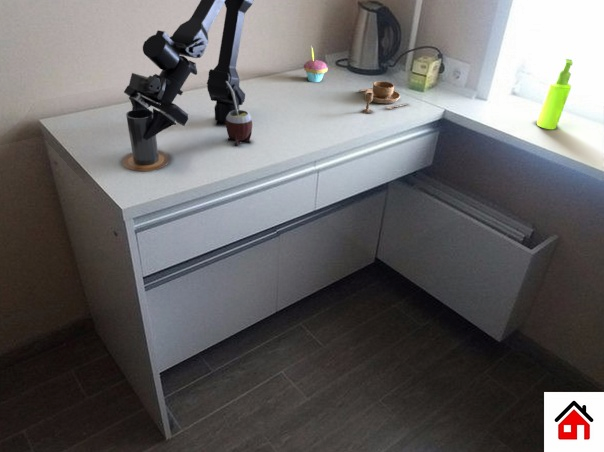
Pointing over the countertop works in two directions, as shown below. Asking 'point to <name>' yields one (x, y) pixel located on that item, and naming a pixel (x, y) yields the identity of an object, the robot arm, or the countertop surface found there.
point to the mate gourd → (238, 124)
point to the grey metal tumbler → (141, 137)
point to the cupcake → (315, 69)
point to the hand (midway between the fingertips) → (137, 134)
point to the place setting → (381, 94)
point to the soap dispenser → (555, 98)
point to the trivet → (130, 164)
